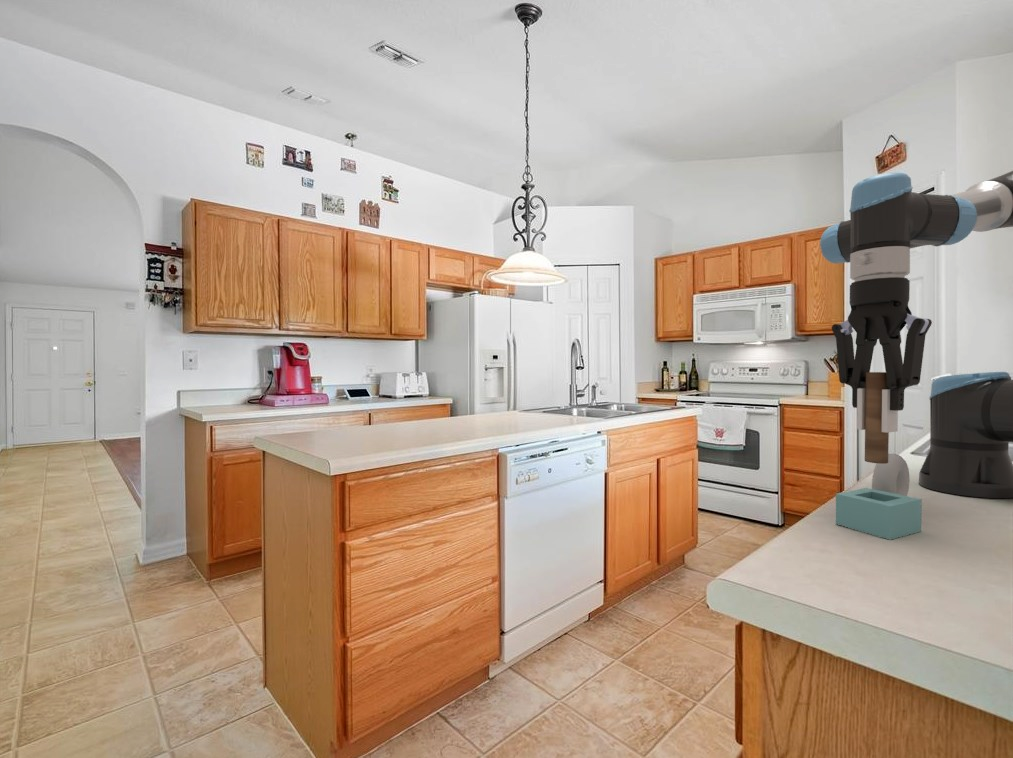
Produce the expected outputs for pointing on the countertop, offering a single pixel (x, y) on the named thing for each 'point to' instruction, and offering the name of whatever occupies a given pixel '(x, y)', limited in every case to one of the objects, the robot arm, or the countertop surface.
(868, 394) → the thick dowel
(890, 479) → the grey rounded flat slab
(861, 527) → the teal socket block
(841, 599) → the countertop surface
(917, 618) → the countertop surface
